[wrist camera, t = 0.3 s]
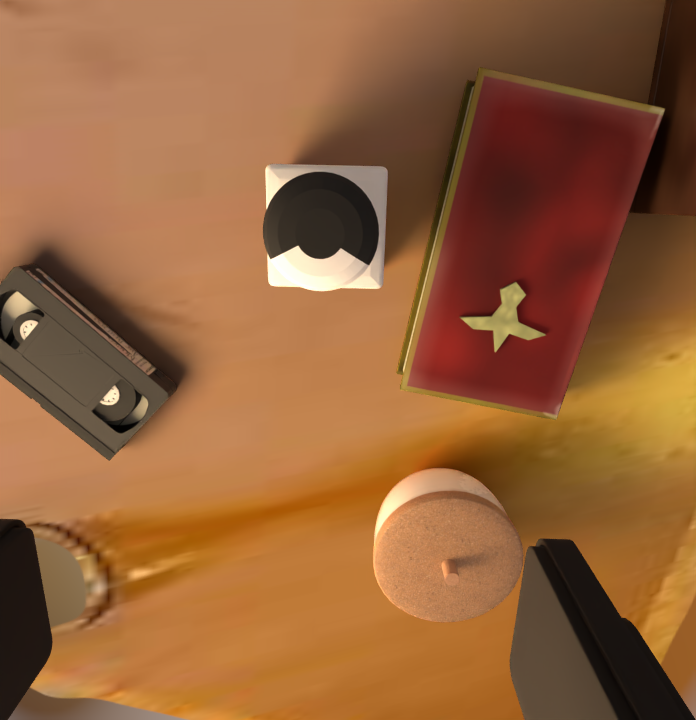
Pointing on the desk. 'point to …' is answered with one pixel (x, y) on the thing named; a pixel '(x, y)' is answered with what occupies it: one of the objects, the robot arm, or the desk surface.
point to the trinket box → (445, 547)
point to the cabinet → (673, 118)
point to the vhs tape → (75, 362)
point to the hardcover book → (522, 240)
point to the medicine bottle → (325, 226)
